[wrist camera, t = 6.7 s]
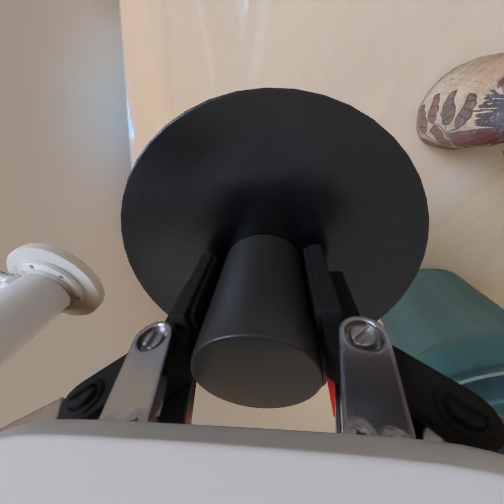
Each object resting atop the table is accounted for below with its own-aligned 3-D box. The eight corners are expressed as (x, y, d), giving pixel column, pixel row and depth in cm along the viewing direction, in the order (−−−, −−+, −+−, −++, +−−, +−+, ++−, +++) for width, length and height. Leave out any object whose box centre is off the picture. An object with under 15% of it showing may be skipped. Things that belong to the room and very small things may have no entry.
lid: (127, 298, 15) (38, 407, 9) (147, 12, 7) (-305, -350, 2) (315, 359, 17) (334, 482, 11) (497, 182, 9) (871, 296, 3)
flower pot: (340, 310, 37) (376, 422, 24) (417, 236, 28) (543, 346, 15) (416, 342, 40) (487, 459, 26) (508, 282, 31) (687, 412, 17)
